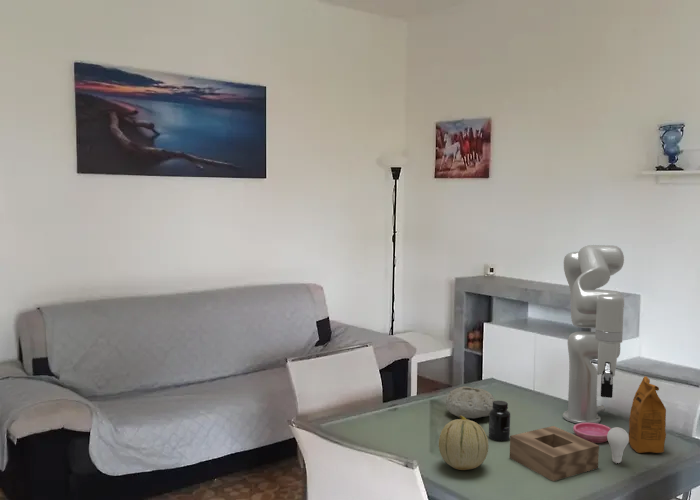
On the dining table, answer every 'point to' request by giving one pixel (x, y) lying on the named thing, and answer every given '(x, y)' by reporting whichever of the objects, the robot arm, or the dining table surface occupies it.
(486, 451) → the cantaloupe
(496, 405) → the supplement bottle
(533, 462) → the socket block
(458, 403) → the grey rounded lump
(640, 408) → the coffee package
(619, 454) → the lightbulb
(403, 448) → the dining table surface
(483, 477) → the dining table surface
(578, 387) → the robot arm
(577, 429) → the saucer
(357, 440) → the dining table surface
